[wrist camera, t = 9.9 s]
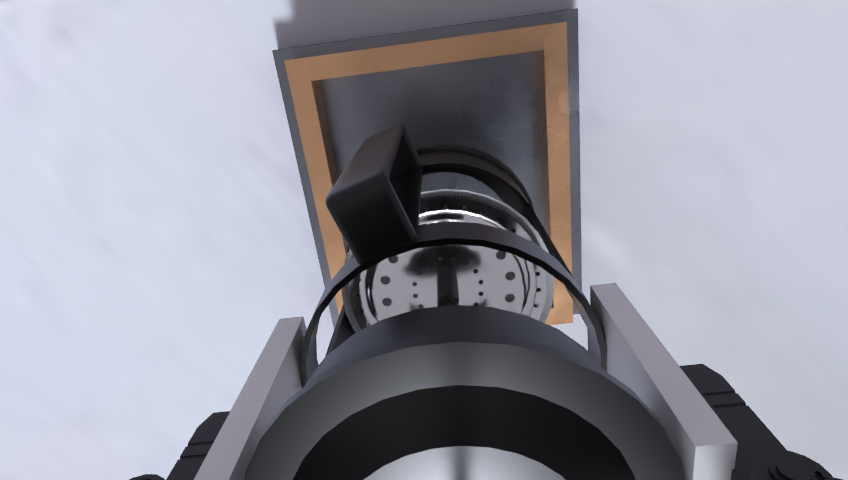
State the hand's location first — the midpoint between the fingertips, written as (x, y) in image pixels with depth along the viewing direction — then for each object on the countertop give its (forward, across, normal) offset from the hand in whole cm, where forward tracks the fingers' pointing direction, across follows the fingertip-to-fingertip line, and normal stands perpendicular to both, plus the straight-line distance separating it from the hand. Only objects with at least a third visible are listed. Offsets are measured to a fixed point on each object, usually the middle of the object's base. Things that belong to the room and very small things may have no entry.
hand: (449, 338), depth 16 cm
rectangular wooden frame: (+18, 0, 0) cm, 18 cm away
